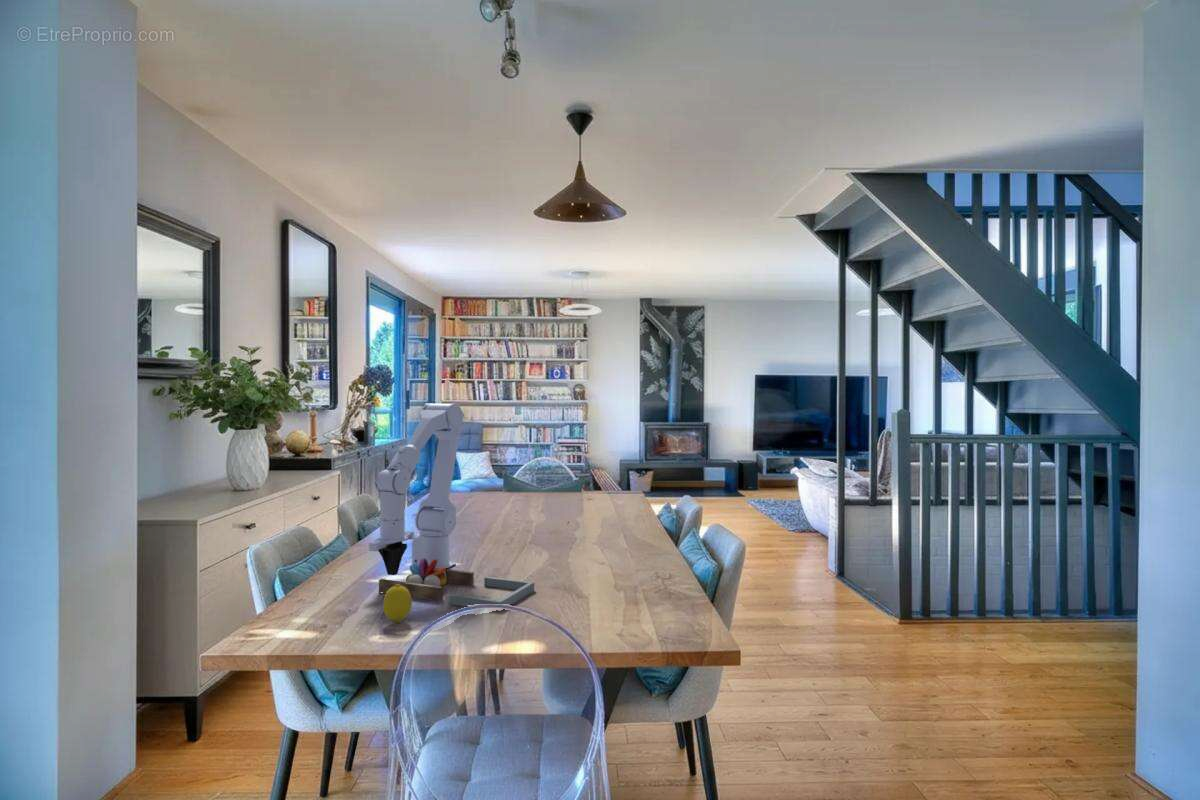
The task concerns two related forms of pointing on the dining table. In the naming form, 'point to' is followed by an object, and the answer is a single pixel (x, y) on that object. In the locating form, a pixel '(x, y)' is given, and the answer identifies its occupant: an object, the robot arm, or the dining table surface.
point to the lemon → (397, 603)
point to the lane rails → (429, 590)
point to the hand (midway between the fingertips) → (392, 574)
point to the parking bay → (520, 587)
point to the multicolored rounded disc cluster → (427, 574)
